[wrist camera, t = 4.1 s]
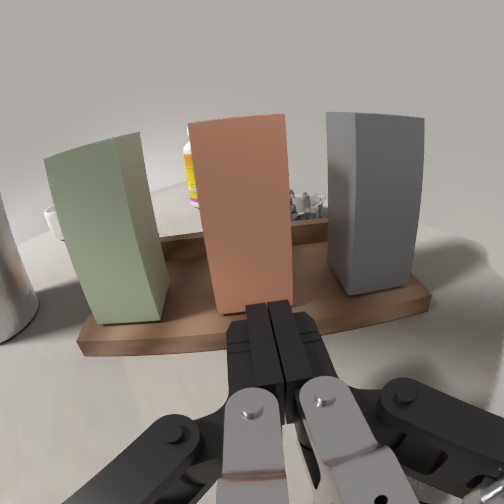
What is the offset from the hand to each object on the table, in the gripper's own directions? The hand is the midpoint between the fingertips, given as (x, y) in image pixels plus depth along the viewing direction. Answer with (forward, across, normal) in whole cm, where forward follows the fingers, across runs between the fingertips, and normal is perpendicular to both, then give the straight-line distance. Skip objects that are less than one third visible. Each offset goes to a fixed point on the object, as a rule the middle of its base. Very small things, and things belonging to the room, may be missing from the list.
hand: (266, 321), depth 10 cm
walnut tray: (+12, 0, +7) cm, 14 cm away
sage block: (+10, +9, +5) cm, 14 cm away
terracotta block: (+10, 0, +5) cm, 11 cm away
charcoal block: (+10, -9, +5) cm, 14 cm away
